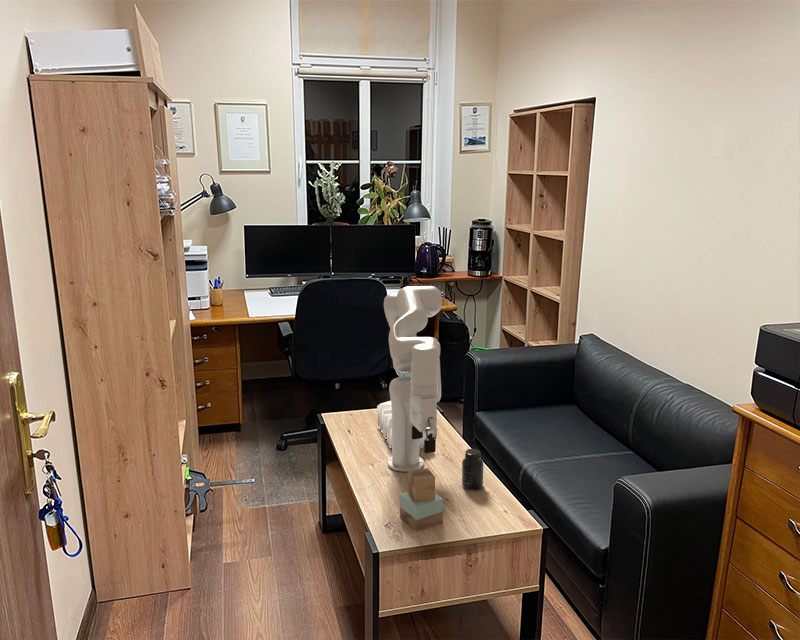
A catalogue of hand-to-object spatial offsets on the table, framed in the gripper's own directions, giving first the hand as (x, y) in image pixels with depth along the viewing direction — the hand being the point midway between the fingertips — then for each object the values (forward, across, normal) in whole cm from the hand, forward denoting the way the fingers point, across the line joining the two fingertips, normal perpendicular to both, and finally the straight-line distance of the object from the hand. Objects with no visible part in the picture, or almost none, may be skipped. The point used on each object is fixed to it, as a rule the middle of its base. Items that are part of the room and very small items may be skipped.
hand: (423, 445), depth 185 cm
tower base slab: (+24, +1, -1) cm, 24 cm away
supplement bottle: (+24, -14, +23) cm, 36 cm away
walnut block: (+16, +1, -1) cm, 16 cm away
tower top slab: (+20, +1, -1) cm, 20 cm away
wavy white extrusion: (+25, -60, +15) cm, 67 cm away
